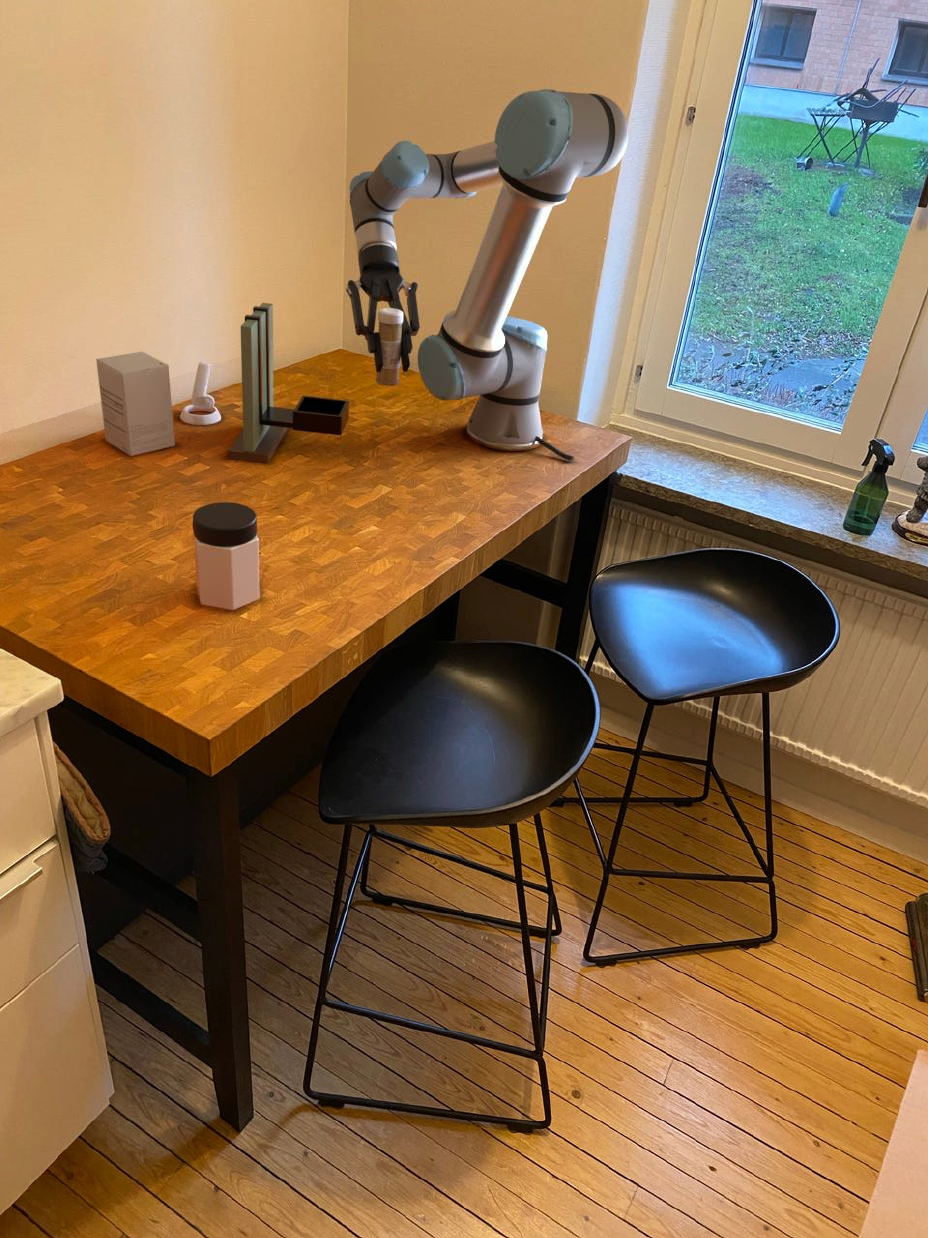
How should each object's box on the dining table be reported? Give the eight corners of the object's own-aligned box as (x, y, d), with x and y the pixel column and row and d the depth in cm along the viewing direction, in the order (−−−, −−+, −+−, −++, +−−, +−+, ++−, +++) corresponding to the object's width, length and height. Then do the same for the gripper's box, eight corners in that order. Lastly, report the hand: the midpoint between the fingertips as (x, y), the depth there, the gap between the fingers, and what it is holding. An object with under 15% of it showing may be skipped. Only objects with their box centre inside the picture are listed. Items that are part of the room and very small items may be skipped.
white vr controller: (226, 378, 186) (230, 368, 179) (217, 436, 185) (220, 428, 178) (187, 368, 184) (190, 358, 177) (177, 428, 183) (179, 419, 176)
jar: (235, 572, 133) (232, 495, 127) (273, 594, 129) (272, 516, 123) (182, 593, 127) (176, 513, 121) (219, 617, 123) (216, 536, 117)
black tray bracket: (348, 418, 175) (352, 315, 165) (341, 435, 167) (344, 329, 157) (257, 408, 174) (255, 304, 164) (246, 424, 167) (243, 317, 157)
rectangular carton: (149, 430, 173) (143, 349, 165) (176, 446, 168) (170, 364, 160) (103, 440, 167) (94, 357, 159) (129, 457, 162) (121, 372, 155)
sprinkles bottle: (393, 378, 180) (397, 306, 173) (403, 386, 177) (407, 313, 169) (371, 379, 178) (374, 307, 171) (380, 387, 175) (384, 314, 168)
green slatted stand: (287, 428, 181) (287, 304, 168) (267, 462, 166) (266, 329, 154) (251, 424, 181) (249, 300, 168) (228, 458, 166) (223, 324, 154)
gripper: (417, 267, 183) (433, 377, 178) (328, 264, 177) (343, 377, 173) (426, 244, 176) (443, 358, 171) (334, 240, 170) (349, 358, 166)
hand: (393, 368), depth 172 cm, fingers closed on sprinkles bottle, 4 cm apart
